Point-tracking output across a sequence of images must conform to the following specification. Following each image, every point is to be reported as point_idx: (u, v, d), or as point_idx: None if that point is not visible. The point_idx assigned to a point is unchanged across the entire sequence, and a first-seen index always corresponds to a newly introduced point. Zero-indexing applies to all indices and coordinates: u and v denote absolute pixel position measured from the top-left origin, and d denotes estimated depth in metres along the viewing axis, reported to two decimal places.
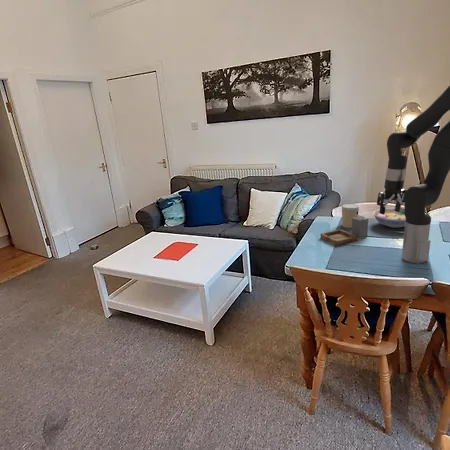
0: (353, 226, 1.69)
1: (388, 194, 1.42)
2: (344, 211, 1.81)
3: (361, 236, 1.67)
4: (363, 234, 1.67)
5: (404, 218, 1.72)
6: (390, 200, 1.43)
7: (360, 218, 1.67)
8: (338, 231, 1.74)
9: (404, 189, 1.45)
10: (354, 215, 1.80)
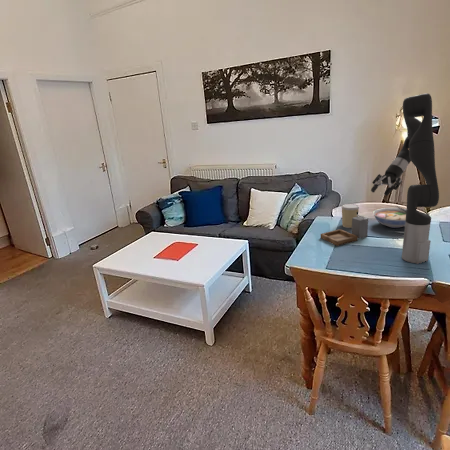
0: (353, 226, 1.69)
1: (383, 176, 1.70)
2: (344, 211, 1.81)
3: (361, 236, 1.67)
4: (363, 234, 1.67)
5: (404, 218, 1.72)
6: (380, 180, 1.69)
7: (360, 218, 1.67)
8: (338, 231, 1.74)
9: None
10: (354, 215, 1.80)
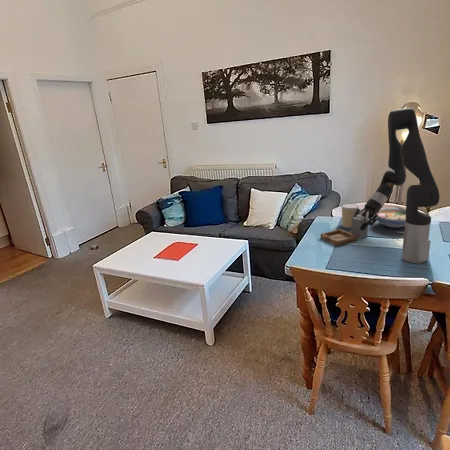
0: (353, 226, 1.69)
1: (361, 211, 1.71)
2: (344, 211, 1.81)
3: (361, 236, 1.67)
4: (363, 233, 1.67)
5: (404, 218, 1.72)
6: (360, 214, 1.69)
7: (360, 218, 1.67)
8: (338, 231, 1.74)
9: (377, 215, 1.63)
10: None
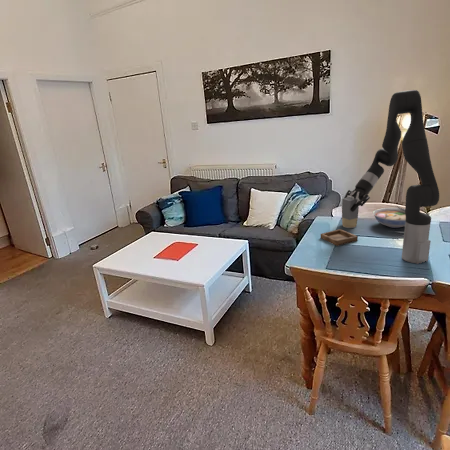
0: (343, 207, 1.65)
1: (352, 192, 1.66)
2: None
3: (351, 217, 1.63)
4: (353, 215, 1.63)
5: (404, 218, 1.72)
6: (351, 195, 1.65)
7: (350, 199, 1.62)
8: (338, 231, 1.74)
9: None
10: None
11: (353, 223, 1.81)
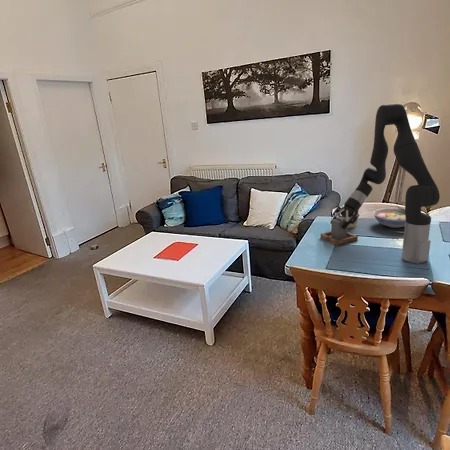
0: (332, 228, 1.67)
1: (342, 209, 1.68)
2: None
3: (340, 238, 1.65)
4: (342, 236, 1.65)
5: (404, 218, 1.72)
6: (339, 212, 1.67)
7: (339, 220, 1.64)
8: None
9: None
10: None
11: None
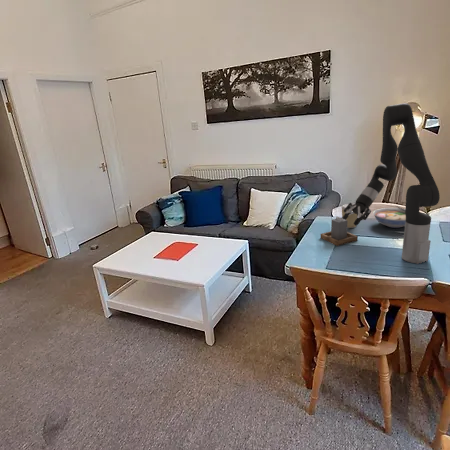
0: (332, 228, 1.67)
1: (353, 205, 1.70)
2: None
3: (340, 238, 1.65)
4: (342, 236, 1.65)
5: (404, 218, 1.72)
6: (351, 209, 1.69)
7: (339, 220, 1.64)
8: None
9: None
10: (354, 215, 1.80)
11: (353, 223, 1.81)
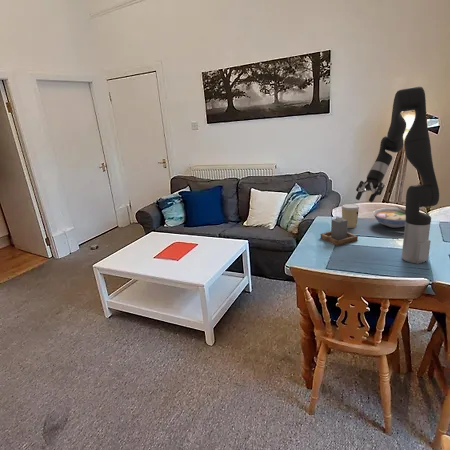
0: (332, 228, 1.67)
1: (365, 182, 1.67)
2: (344, 211, 1.81)
3: (340, 238, 1.65)
4: (342, 236, 1.65)
5: (404, 218, 1.72)
6: (363, 186, 1.66)
7: (339, 220, 1.64)
8: None
9: (382, 183, 1.59)
10: (354, 215, 1.80)
11: (353, 223, 1.81)
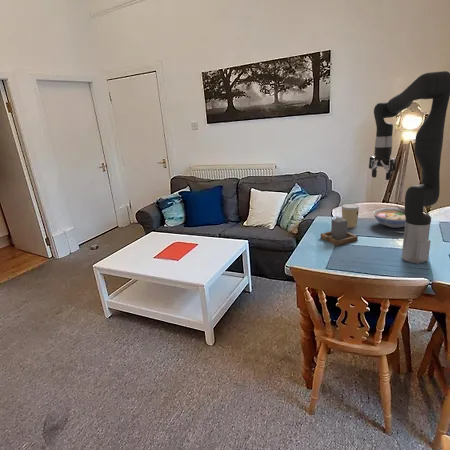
0: (332, 228, 1.67)
1: (375, 159, 1.61)
2: (344, 211, 1.81)
3: (340, 238, 1.65)
4: (342, 236, 1.65)
5: (404, 218, 1.72)
6: (375, 165, 1.60)
7: (339, 220, 1.64)
8: None
9: None
10: (354, 215, 1.80)
11: (353, 223, 1.81)
